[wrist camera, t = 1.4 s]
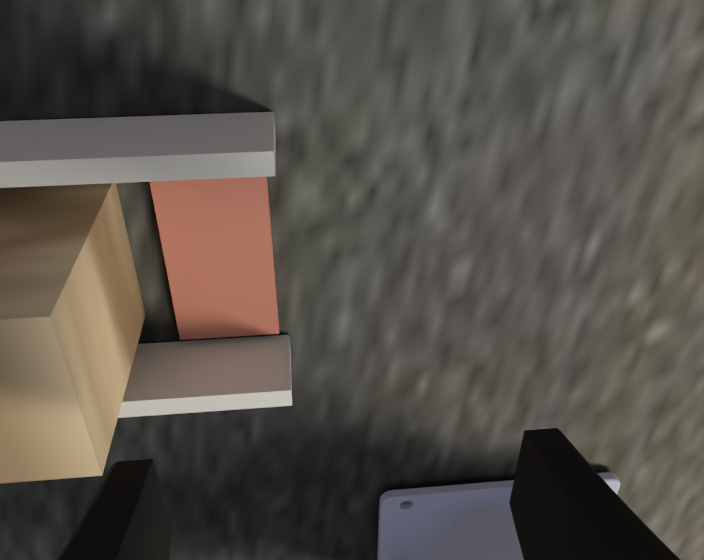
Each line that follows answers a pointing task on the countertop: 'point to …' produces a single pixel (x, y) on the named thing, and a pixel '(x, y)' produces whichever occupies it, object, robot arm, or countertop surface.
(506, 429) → the countertop surface
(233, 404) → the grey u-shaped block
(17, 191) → the maple block
